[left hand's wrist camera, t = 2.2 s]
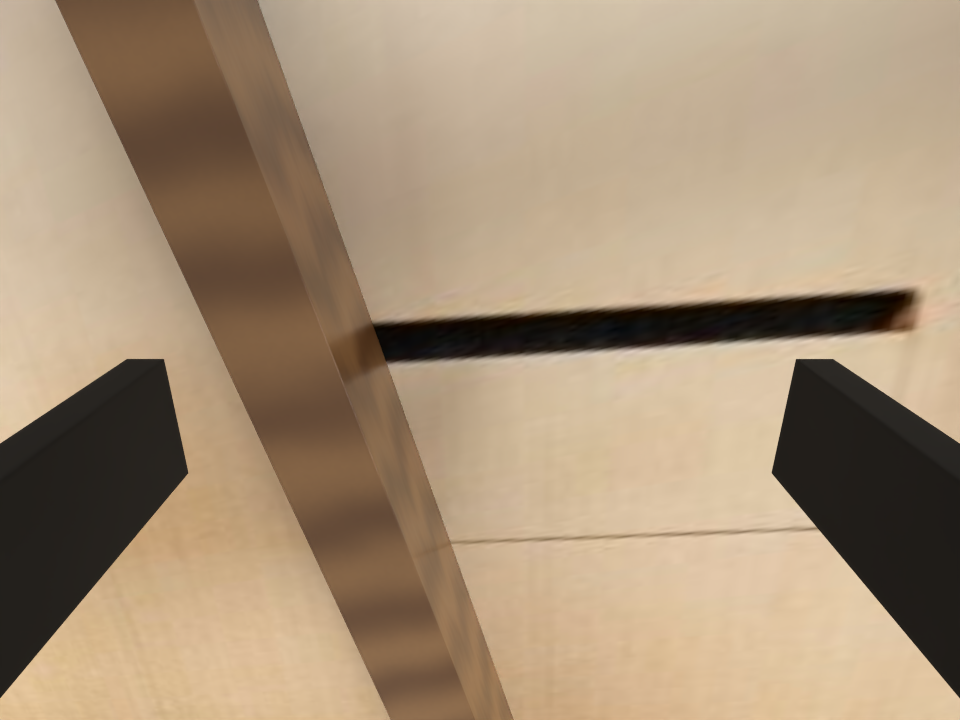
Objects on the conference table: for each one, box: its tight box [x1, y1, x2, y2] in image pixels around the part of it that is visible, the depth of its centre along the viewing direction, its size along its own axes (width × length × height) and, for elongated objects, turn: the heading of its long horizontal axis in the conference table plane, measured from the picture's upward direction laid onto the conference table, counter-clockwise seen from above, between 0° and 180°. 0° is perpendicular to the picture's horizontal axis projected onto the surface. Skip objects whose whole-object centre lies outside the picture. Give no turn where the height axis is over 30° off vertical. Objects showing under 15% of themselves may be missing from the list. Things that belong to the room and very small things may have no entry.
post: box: [55, 0, 513, 720], centre depth 34 cm, size 84×5×8 cm, turn 15°
